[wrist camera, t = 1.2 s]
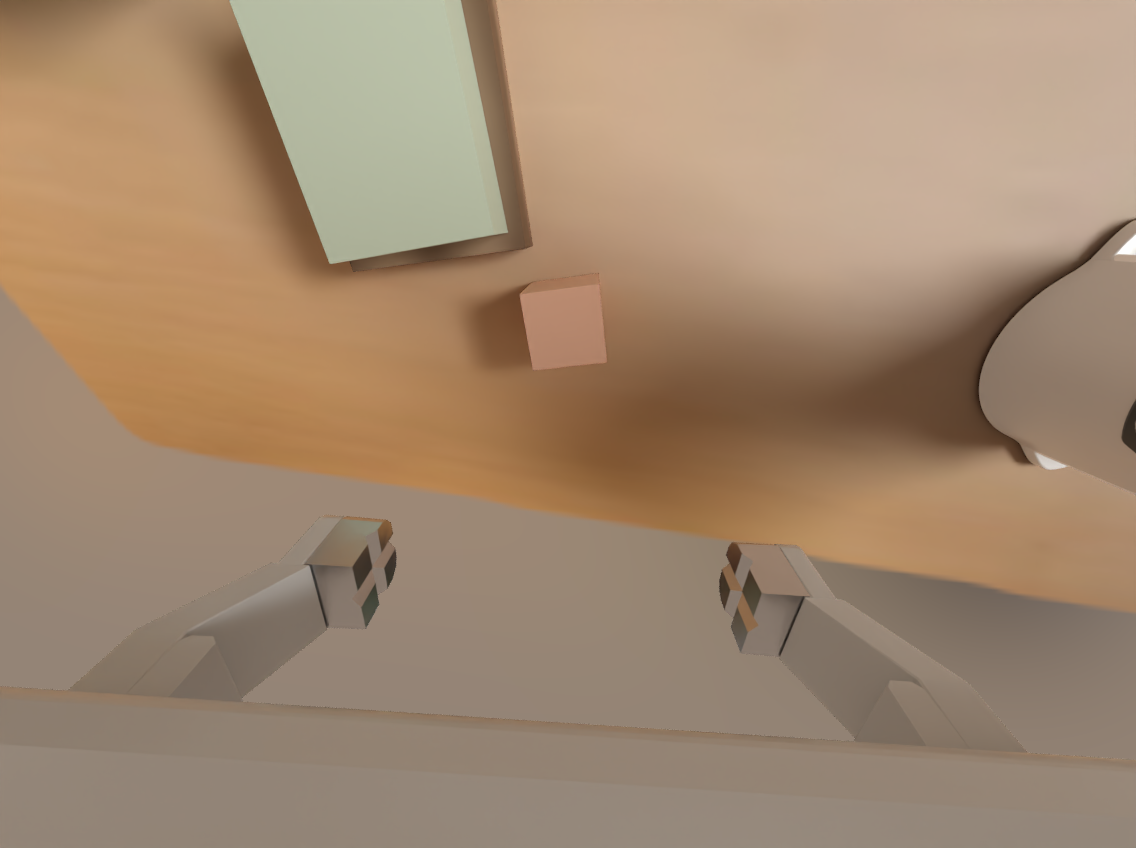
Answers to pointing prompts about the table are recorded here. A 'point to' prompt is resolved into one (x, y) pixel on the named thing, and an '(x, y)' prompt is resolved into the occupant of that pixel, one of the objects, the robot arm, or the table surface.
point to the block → (564, 322)
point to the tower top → (378, 120)
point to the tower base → (502, 141)
